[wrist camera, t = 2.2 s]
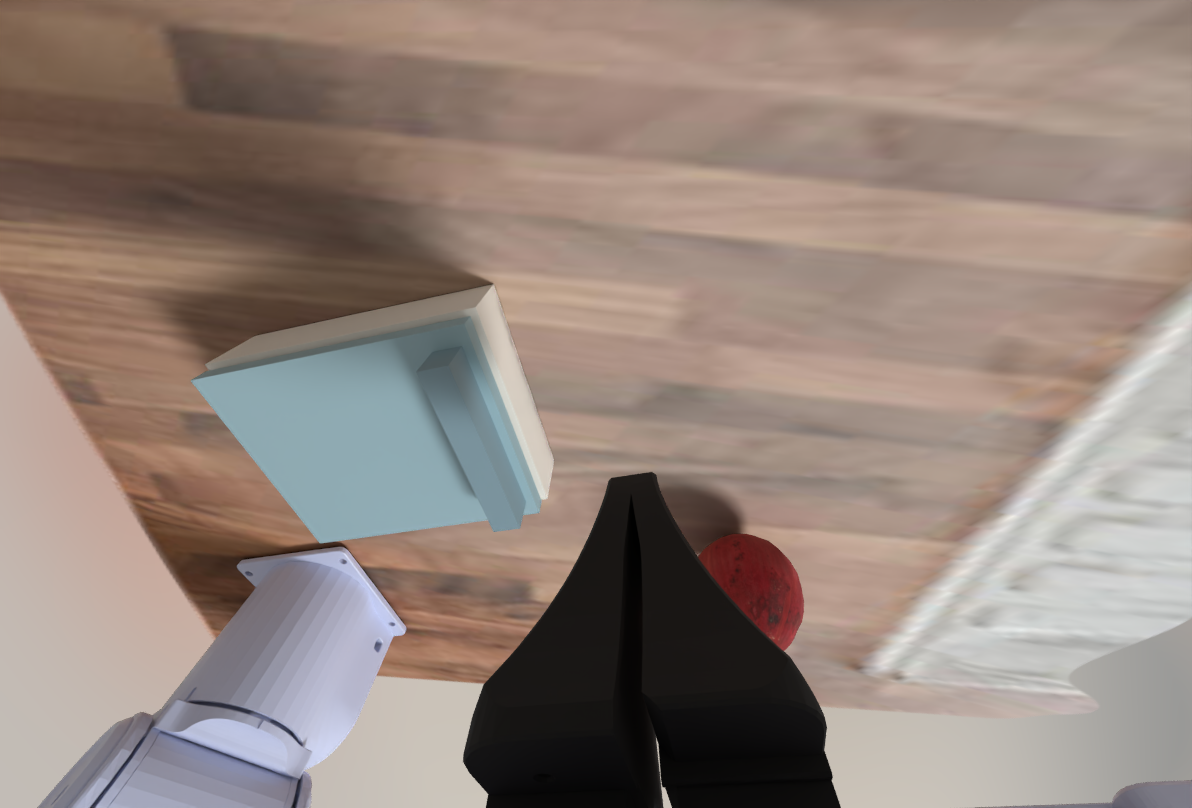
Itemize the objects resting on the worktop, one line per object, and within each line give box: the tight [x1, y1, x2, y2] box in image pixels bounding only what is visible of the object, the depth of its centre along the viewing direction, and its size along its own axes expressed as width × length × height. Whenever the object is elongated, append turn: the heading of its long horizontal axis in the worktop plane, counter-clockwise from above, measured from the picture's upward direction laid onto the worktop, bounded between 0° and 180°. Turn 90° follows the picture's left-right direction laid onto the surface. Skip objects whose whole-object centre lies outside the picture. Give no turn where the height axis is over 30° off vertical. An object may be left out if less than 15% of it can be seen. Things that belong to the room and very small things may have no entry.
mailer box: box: [205, 284, 554, 500], centre depth 21 cm, size 10×12×3 cm
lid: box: [191, 316, 541, 543], centre depth 19 cm, size 10×12×2 cm
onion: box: [698, 534, 804, 651], centre depth 24 cm, size 6×6×8 cm
